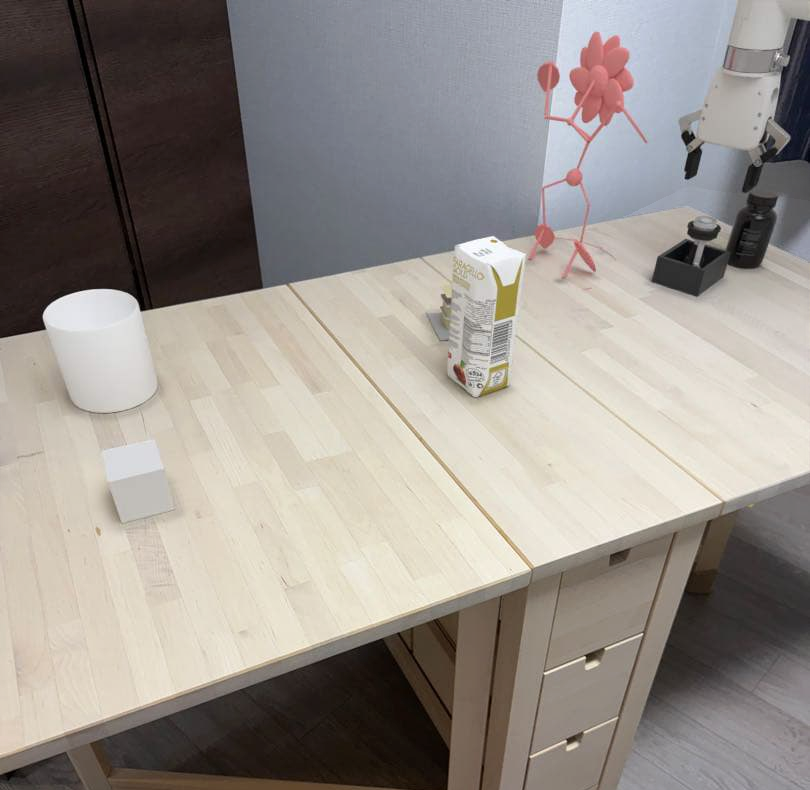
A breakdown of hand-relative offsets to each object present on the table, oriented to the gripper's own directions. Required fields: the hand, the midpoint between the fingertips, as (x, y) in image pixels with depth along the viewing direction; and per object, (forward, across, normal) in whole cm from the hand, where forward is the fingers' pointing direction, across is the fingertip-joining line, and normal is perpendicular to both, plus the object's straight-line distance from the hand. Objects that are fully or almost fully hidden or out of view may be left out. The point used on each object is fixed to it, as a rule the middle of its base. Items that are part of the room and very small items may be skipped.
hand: (718, 183), depth 120 cm
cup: (+14, +44, +88) cm, 100 cm away
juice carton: (+15, +8, +52) cm, 55 cm away
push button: (+16, +1, 0) cm, 16 cm away
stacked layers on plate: (+15, +20, +40) cm, 48 cm away
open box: (+16, +1, 0) cm, 16 cm away
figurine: (+16, +20, +8) cm, 26 cm away
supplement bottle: (+16, -3, -14) cm, 22 cm away
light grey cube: (+14, +21, +100) cm, 103 cm away
